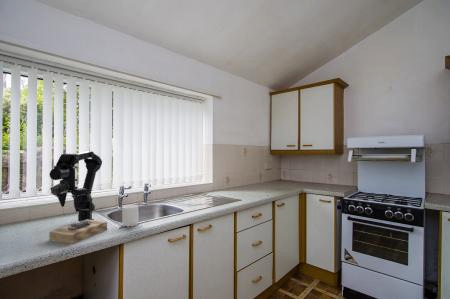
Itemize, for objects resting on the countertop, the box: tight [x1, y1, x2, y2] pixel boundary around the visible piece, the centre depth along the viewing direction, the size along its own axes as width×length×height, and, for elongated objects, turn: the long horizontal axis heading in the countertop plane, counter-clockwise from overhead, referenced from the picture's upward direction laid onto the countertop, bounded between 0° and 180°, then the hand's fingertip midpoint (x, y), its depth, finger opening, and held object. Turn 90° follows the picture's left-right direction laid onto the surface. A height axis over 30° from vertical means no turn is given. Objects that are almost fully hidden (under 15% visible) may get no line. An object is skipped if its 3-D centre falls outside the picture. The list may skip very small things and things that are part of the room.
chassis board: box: [49, 219, 108, 245], centre depth 118 cm, size 20×14×4 cm
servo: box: [67, 220, 92, 229], centre depth 118 cm, size 10×4×7 cm, turn 162°
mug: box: [121, 204, 139, 228], centre depth 134 cm, size 12×8×10 cm
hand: (69, 207), depth 124 cm, fingers open, 9 cm apart
